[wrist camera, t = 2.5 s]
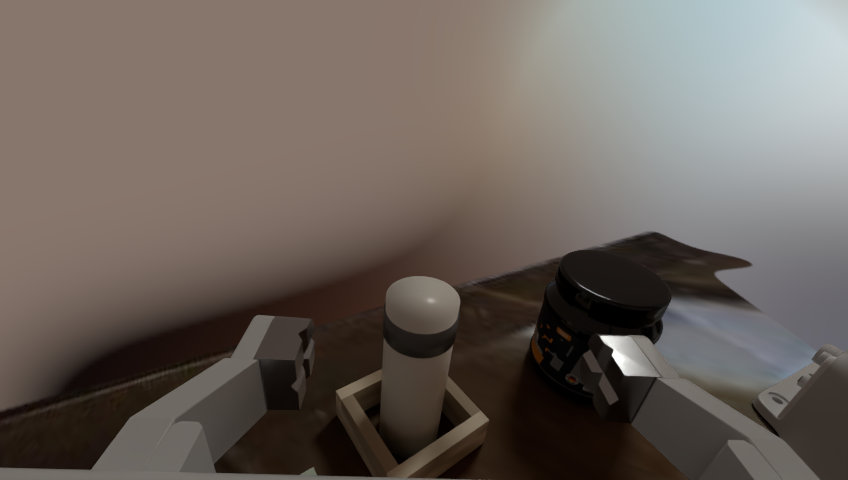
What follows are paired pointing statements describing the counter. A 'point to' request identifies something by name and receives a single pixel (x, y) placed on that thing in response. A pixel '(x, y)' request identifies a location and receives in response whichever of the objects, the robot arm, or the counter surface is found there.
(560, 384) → the supplement container
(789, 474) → the robot arm
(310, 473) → the mat
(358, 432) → the square wooden frame
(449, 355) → the white capsule post
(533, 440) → the counter surface
